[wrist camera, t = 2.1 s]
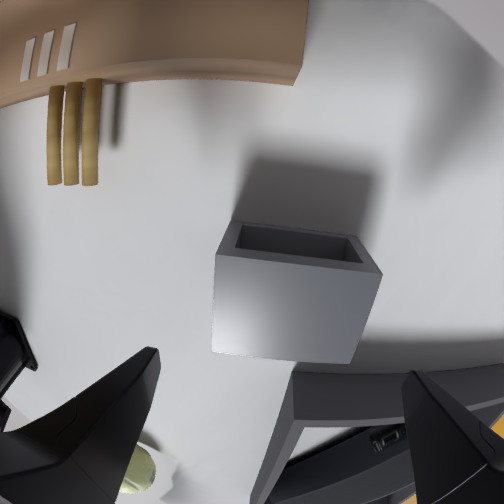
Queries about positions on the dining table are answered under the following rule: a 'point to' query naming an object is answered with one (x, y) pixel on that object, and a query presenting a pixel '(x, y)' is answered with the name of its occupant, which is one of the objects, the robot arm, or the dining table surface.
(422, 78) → the dining table surface
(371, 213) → the dining table surface
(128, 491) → the tennis ball
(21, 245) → the dining table surface
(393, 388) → the bumper frame
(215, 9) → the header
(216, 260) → the box
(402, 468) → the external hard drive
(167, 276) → the dining table surface
